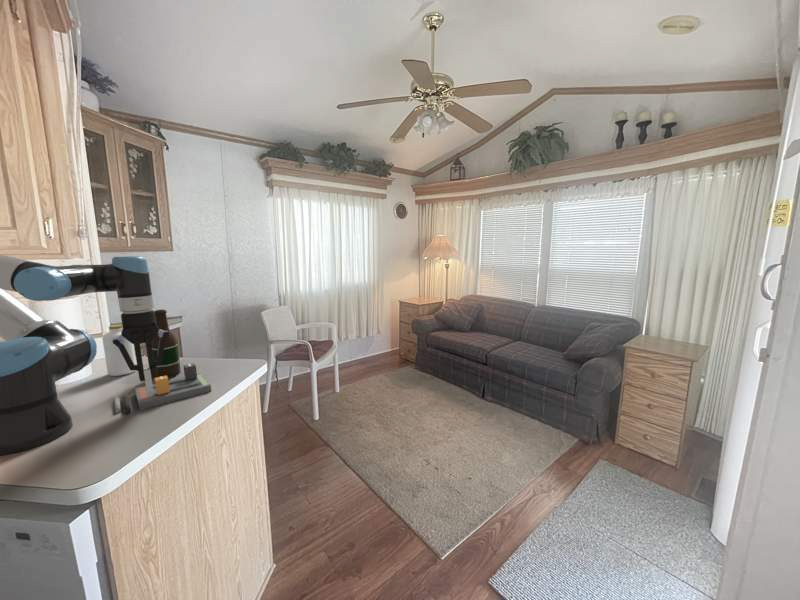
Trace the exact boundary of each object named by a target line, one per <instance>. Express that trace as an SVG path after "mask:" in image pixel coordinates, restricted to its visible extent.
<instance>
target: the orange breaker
mask: <svg viewBox="0 0 800 600" xmlns="http://www.w3.org/2000/svg"><path fill="white" fill-rule="evenodd" d="M169 381H170V380H169V378H168V377H167V375H166V376H161V377H157V378H154V384H155V385H156V392H157V395H160V394H164V393H168V392H170V389H169Z"/></svg>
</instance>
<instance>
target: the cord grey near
mask: <svg viewBox="0 0 800 600" xmlns="http://www.w3.org/2000/svg"><path fill="white" fill-rule="evenodd" d="M113 401H114V402H113V403H114V412H115V413H117V414H119V413H121V412H122V409H121V399H120V397H118V396H117V397H115V398H114V399H113Z"/></svg>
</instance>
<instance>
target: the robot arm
mask: <svg viewBox="0 0 800 600" xmlns="http://www.w3.org/2000/svg"><path fill="white" fill-rule="evenodd" d="M150 277H151V276H150V270H149V266H148V261H147V259H146V258H145V256H143V255H142V256H141V255H140V256H139V255H138V256H137V255H136V256H135V255H133V256H132V255H131V256H129V255H128V256H127V255H126V256H113V257H112V258H111V263H108V264H72V265H59V266H57V265H50V264H44V263H40V262H35V261H31V260H27V259H21V258H17V257H15V256H14V257H13V256H8V255H4V254H0V338H2V339H3V340H4V341H0V456H3V455H8V454H13V453H17V452H22V451H25V450H28V449H32V448H35V447H38V446H41V445H43V444H46V443H48V442H51V441H53V440H55V439H57V438H59V437H61V436H63V435H64V434H66V433H67V432H69V431H70V430H71V429H72V427H73V419H72V416H71V414H70V413H69V411H68V410H67V409H66V407H65V406H64V405H63V403H62V402H61V401H60V399H59V397H58V392H57V391H58V390H57V385H56V382H57V381H59V380H62V379H64V378H66V377H68V376H70V375H72V374H74V373H77V372H80V371H81V370H83V369H84V368H85V367H87V366H89V365H90V364H91V363H92V362H93V361H94V359H95V357H96V356H97V353H98V351H97V350H98V349H97V347H98V346H97V342H96V340H95V338H94V337H93V336H92V335H91V334H90V333H89V332H88V331H85V330H82V329H79V328H78V329H75V328H68V327H67V326H66V325H64V324H63V323H62V322H60V321H59V320H58V319H57V320H55V319H53V320H51V319H45V318H43V317H42V316H41V315H39V313H37V312H36V311H34V310H33V309H32V308H30V307H28V306H27V305H26V304H25V303H23V302H22V301H21V300H19V299H18V298H17V297H15V296H14V295H12V294H11V293H9V291H10V292H14V293H18V294H19V295H20V296H22V297H23V298H24V299H27V300H30V301H36V302H37V301H38V302H43V301H45V302H47V301H48V302H49V301H55V300H58V299H59V300H60V299H63V298H67V297H73V296H81V295H85V294H92V293H105V292H106V293H108V292H109V293H110V292H116V294H117V299H118V306H119V311H120V312H121V314H120V319H121V325H122V326H123V330H122V332H121V335H120V336H118V337H117V338H114V339H113V340H112V341H113V344H115V345H116V346H117V347H118V348H119V349H120V351H121V353H122V355H123V357H124V359H125V361H126V363H127V365H128V367H129V369H130V370H135V371H137V372H138V379H139V381H140V382H144V384H145V385H144V386H146V391H147V392H150V391H153V385H152V384H153V381H152V380H153V379H154V380H155V378H156V372H155V367H156V366H158V365H161V364H162V359H163V353H164V346H165V340H166V338H167V337H168V335H169V333H168V332H167V331H163V330H161V329H159V327H158V326H157V324H156V318H155V312H154V311H155V310H153V309H154V308H155V305H154V299H153V292H152V286H151V278H150ZM157 333H159V334H158V336H159V337H160V339H159V345H158V351H157V358H156V361H154V358H153V351H152V344H151V341H152V340H153V339H154V337H155V336H156V334H157ZM124 338H126V339H127V340H128V341H129V342H131V343H132V344H134V351H135V358H136V365H134V363H133V361H132V360H131V358H130V356H129V354H128V352H127V350H126V348H125V346H124V344H123V343H124V340H123V339H124ZM141 344H145V350H146V356H147V362H148V367H144V363H143V356H142V350H141Z"/></svg>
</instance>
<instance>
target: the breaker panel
mask: <svg viewBox="0 0 800 600" xmlns="http://www.w3.org/2000/svg"><path fill="white" fill-rule="evenodd" d="M168 381H169V389H170V392H168V393H164V394H160V395H157V392H156V385H155V383H154V384H153V383H152V385H153V391H150V392H147V391H146V385H144V386H140V387H136V388H134V393H135V397H136V402H137V405H138V408H139V409H138V410H139V411H140V410H144V409H147V408H153V407H155V406H161V405H164V404H167V403H172V402H176V401H177V400H182V399H185V398H186V399H187V398H190V397H194V396H197V395H201V394H207V393H209V392H212V386H211V385H212V384H211V383H209V381H208V380H207V379H206V378H205V377H204V376H203V374H202V373H197V378H196V379H191V380H186V379H185V376H184V377H183V376H182V377H178V378H175V379H171V380H168Z"/></svg>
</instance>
